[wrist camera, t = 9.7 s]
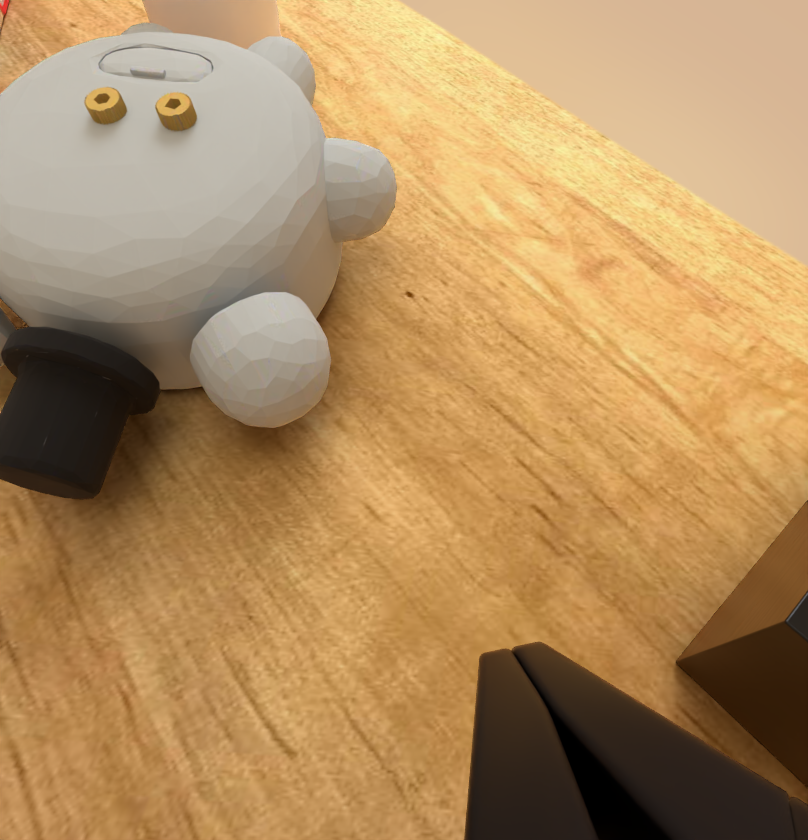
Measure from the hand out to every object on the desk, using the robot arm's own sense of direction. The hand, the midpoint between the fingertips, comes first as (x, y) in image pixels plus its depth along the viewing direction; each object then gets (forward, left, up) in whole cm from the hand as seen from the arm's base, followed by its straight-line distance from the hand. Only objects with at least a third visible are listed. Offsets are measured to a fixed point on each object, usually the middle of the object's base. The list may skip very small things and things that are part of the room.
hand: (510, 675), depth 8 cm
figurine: (+12, +15, -12) cm, 23 cm away
